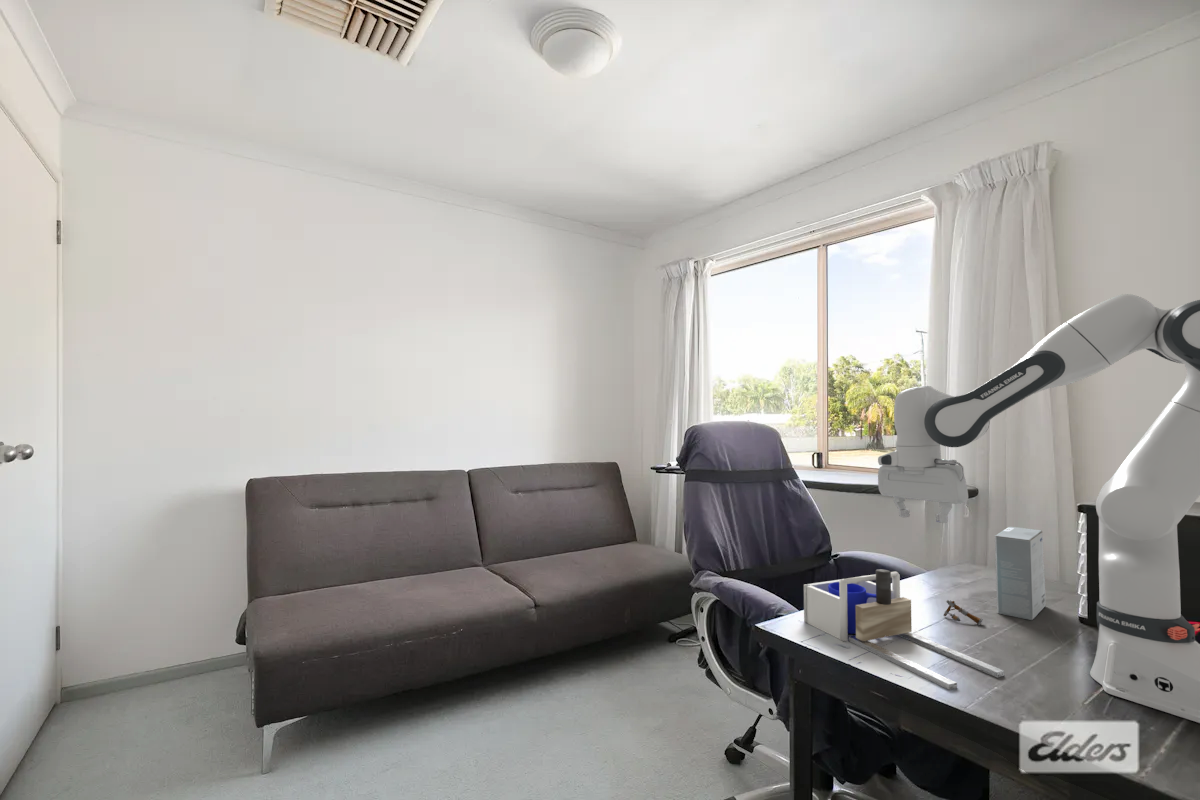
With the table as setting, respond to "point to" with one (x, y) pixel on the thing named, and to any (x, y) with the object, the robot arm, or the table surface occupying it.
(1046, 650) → the table surface
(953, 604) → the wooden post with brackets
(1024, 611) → the hard drive box
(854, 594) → the mug
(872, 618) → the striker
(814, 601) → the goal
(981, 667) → the rails
